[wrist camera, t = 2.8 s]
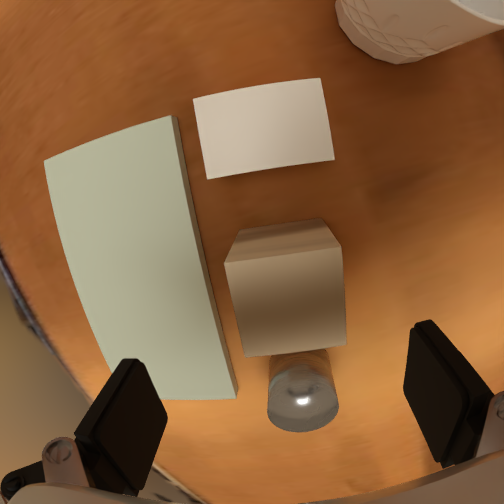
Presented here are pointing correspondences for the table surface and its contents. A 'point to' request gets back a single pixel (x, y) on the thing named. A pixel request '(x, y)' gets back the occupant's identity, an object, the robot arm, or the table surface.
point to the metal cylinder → (301, 391)
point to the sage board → (142, 258)
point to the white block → (263, 127)
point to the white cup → (416, 25)
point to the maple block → (287, 288)
